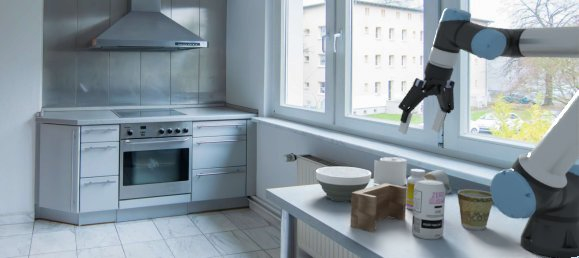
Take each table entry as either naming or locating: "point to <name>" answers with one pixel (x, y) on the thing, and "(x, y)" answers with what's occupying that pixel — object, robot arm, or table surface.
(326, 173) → the bowl
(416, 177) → the supplement bottle
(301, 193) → the table surface
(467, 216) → the ceramic cup
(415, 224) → the supplement can
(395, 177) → the toilet tissue
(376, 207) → the wooden bridge block
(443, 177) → the ceramic mug
